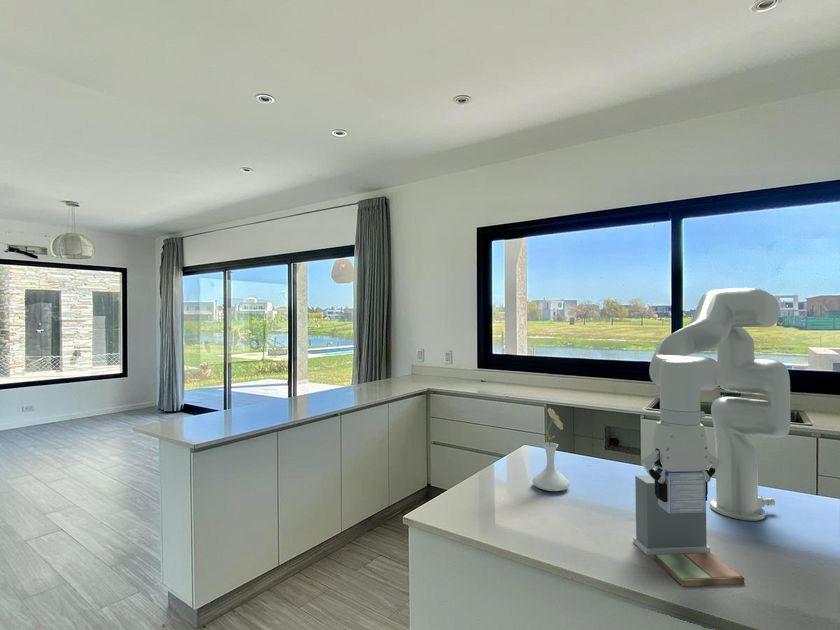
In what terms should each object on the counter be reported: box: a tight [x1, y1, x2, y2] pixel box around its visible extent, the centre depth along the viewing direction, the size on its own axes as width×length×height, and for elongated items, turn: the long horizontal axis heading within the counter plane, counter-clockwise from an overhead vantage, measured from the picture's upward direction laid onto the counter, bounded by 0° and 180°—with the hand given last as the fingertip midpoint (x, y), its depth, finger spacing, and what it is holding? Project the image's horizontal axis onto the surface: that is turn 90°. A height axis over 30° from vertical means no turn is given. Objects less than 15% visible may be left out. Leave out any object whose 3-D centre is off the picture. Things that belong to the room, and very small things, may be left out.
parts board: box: [653, 551, 745, 587], centre depth 96 cm, size 13×10×1 cm
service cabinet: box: [632, 474, 711, 556], centre depth 106 cm, size 15×6×16 cm, turn 93°
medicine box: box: [658, 470, 707, 513], centre depth 96 cm, size 8×4×9 cm, turn 92°
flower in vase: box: [532, 407, 570, 492], centre depth 145 cm, size 13×11×25 cm
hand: (681, 498), depth 96 cm, fingers closed on medicine box, 8 cm apart
